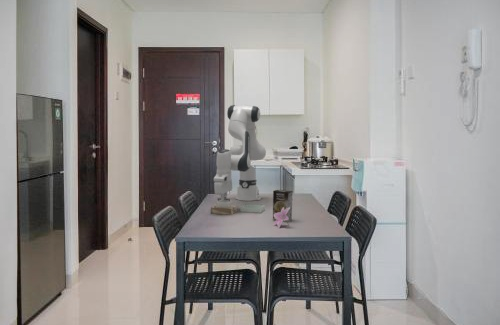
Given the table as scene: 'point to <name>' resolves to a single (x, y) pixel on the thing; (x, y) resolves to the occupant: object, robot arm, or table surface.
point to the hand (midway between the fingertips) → (223, 200)
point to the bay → (223, 210)
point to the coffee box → (282, 202)
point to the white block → (223, 203)
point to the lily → (281, 216)
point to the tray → (253, 208)
